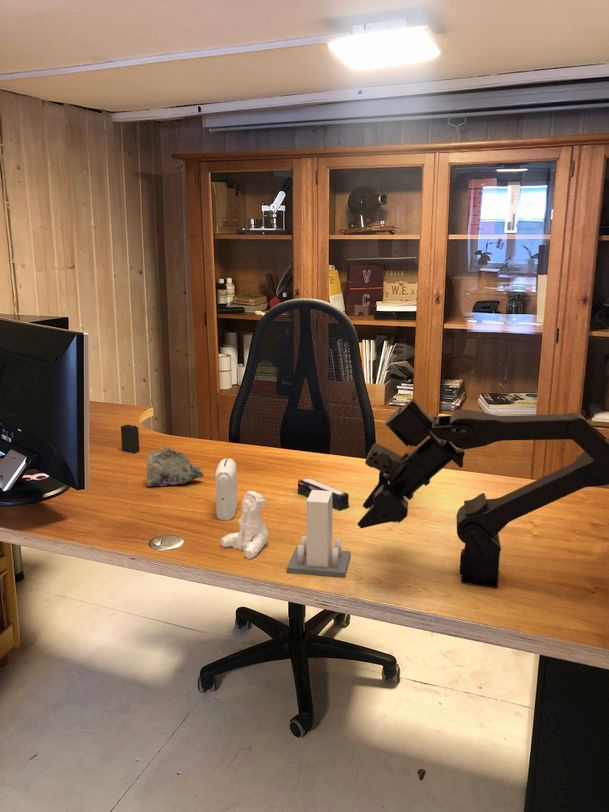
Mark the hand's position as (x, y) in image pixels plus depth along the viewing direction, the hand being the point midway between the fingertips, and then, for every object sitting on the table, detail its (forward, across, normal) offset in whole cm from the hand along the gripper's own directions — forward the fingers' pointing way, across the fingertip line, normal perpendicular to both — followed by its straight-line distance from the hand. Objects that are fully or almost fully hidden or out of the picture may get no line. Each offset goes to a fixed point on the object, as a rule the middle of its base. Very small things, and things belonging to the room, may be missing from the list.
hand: (361, 516), depth 125 cm
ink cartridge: (+61, -61, -46) cm, 97 cm away
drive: (+12, 0, +1) cm, 12 cm away
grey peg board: (+13, 0, +2) cm, 13 cm away
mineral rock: (+45, -36, -30) cm, 65 cm away
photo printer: (+31, -22, -16) cm, 41 cm away
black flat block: (+18, -35, -2) cm, 39 cm away
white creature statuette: (+24, -5, -9) cm, 26 cm away
